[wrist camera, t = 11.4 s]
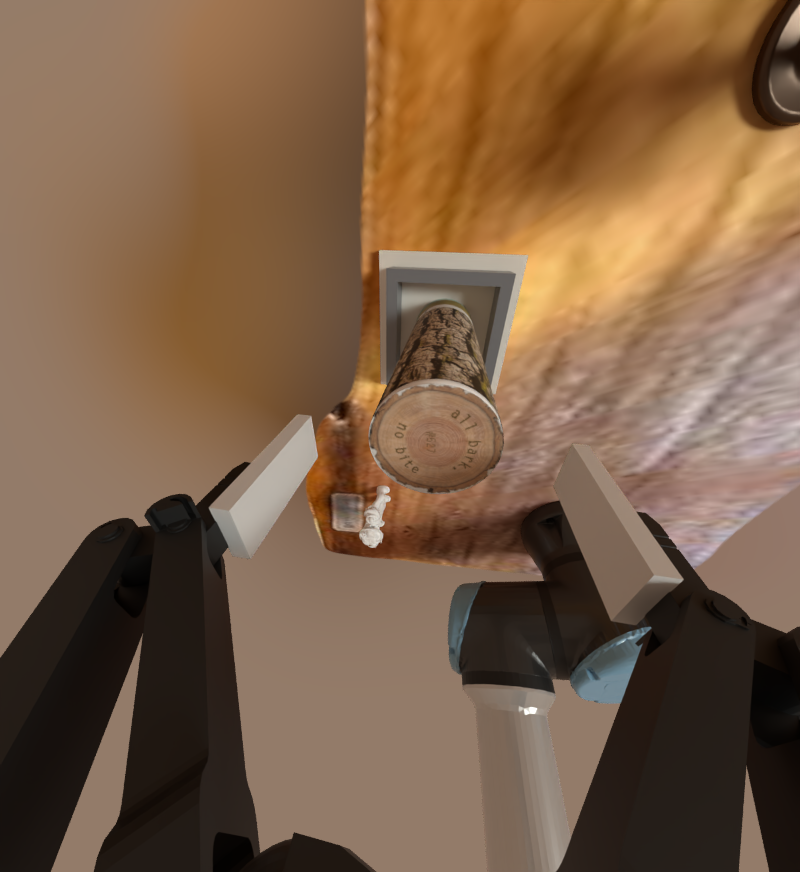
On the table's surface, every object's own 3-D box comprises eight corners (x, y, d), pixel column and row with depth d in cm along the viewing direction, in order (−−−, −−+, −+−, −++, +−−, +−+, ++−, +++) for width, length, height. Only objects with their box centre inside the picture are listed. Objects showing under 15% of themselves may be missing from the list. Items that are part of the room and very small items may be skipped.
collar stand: (494, 390, 39) (498, 405, 36) (382, 381, 41) (375, 394, 38) (526, 254, 30) (536, 256, 27) (380, 250, 32) (371, 250, 29)
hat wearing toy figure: (372, 474, 52) (353, 528, 42) (393, 477, 51) (379, 531, 41) (373, 508, 57) (357, 563, 47) (393, 510, 56) (380, 566, 47)
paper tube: (474, 297, 32) (516, 384, 12) (469, 355, 36) (493, 498, 16) (415, 299, 33) (360, 381, 13) (416, 355, 37) (374, 489, 17)
